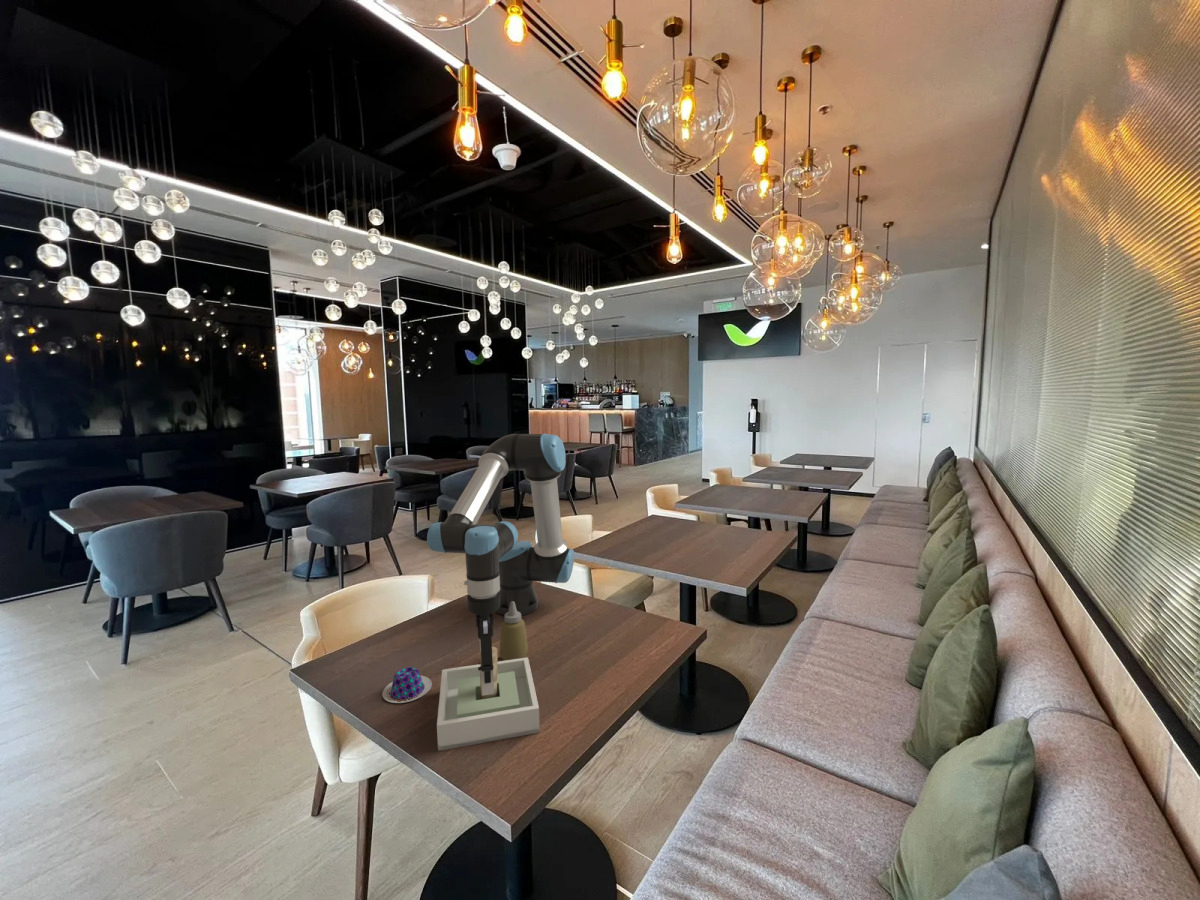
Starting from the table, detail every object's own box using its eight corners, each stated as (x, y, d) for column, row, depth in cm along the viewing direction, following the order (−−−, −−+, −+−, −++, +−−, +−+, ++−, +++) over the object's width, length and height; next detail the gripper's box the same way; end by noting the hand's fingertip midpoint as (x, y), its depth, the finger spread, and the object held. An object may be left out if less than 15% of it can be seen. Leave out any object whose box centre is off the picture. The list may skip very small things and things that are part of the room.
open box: (443, 691, 128) (442, 669, 127) (528, 678, 133) (527, 657, 133) (438, 751, 107) (436, 725, 106) (539, 732, 112) (539, 708, 112)
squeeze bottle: (522, 671, 137) (520, 609, 134) (495, 668, 138) (493, 607, 136) (532, 656, 144) (530, 597, 142) (506, 653, 146) (504, 595, 144)
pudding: (408, 673, 137) (407, 655, 136) (441, 684, 131) (440, 666, 131) (372, 698, 126) (370, 678, 125) (406, 711, 121) (405, 691, 120)
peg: (479, 702, 121) (480, 647, 121) (496, 700, 122) (497, 645, 122) (480, 712, 118) (480, 655, 117) (497, 709, 119) (497, 653, 118)
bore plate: (458, 694, 125) (458, 679, 124) (514, 685, 128) (514, 671, 128) (457, 731, 112) (456, 714, 111) (520, 720, 115) (519, 704, 115)
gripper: (467, 575, 127) (470, 652, 130) (466, 618, 103) (471, 712, 106) (497, 572, 129) (499, 648, 132) (503, 614, 105) (506, 706, 108)
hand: (487, 677), depth 119 cm, fingers open, 13 cm apart
